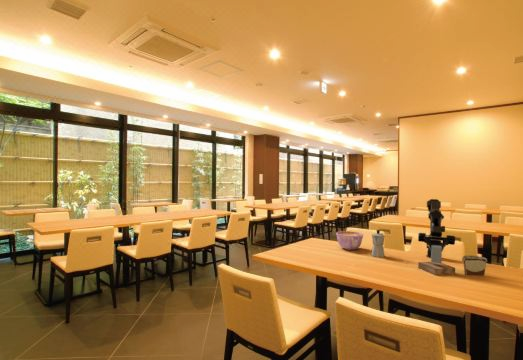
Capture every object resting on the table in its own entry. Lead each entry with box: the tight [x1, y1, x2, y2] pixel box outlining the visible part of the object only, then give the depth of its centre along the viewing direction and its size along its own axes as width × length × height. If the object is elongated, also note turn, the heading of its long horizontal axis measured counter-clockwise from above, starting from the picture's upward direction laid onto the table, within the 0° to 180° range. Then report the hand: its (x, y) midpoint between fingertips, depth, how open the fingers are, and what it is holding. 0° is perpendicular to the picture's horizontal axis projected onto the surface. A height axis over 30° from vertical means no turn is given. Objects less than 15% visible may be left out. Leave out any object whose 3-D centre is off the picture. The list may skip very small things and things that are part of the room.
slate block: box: [430, 245, 443, 263], centre depth 168 cm, size 5×5×9 cm
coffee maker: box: [371, 229, 386, 258], centre depth 201 cm, size 15×9×18 cm, turn 137°
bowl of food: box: [335, 230, 364, 251], centre depth 220 cm, size 20×20×12 cm
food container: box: [461, 254, 488, 277], centre depth 163 cm, size 12×6×10 cm, turn 84°
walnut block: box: [417, 261, 456, 276], centre depth 168 cm, size 13×13×4 cm
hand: (436, 250), depth 167 cm, fingers closed on slate block, 5 cm apart
